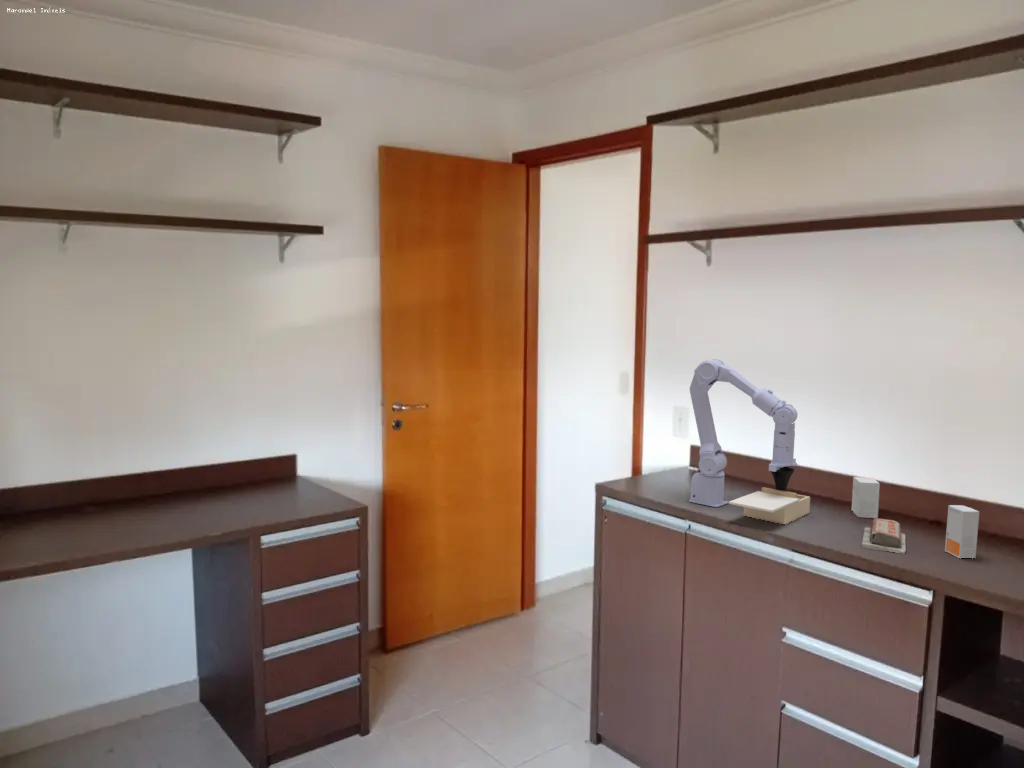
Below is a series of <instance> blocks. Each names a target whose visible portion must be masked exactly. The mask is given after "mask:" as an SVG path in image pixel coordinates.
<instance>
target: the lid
mask: <svg viewBox="0 0 1024 768" xmlns="http://www.w3.org/2000/svg"><path fill="white" fill-rule="evenodd" d="M796 497H797V492H792V491H787V490H786V491H782V490H777V489H776V488H770V487H764V486H762V487H761V491H760V490H757V491H755V492H754V491H753V492H752V493H749V494H746V495H743V496H740V497H738V498H735V499H733V500H730V501H728V502H729V503H728V504H729V505H732V506H738V507H743V508H744V507H747V508H752V509H757V510H762V511H767V512H775V511H777V510H779V509H782V508H784V507H787V506H789V505H791V504H794V503H796V502H798V501H800V499H798V498H796Z"/></svg>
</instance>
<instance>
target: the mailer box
mask: <svg viewBox="0 0 1024 768" xmlns="http://www.w3.org/2000/svg"><path fill="white" fill-rule="evenodd" d="M796 498H798V499H800V501H798V502H796V503H794V504H791V505H789V506H787V507H784V508H782V509H779V510H777V511H775V512H767V511H762V510H757V509H752V508H747V507H743V517H744V516H747V517H746V518H748V517H752V518H751V519H753V518H756V519H755V520H758V519H761V520H760V521H762V520H765V521H764V522H767V521H770V522H769V523H772V522H774V523H773V524H777V523H779V524H778V525H781V524H785V525H787V524H790V523H791V521H792V522H794V521H796V520H798V519H800V518H803V517H804V515H805V516H806V515H809V514H810V510H811V509H810V508H811V507H810V506H811V496H809V495H808V496H807V495H802V494H797V497H796ZM802 516H803V517H802ZM789 522H790V523H789Z"/></svg>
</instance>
